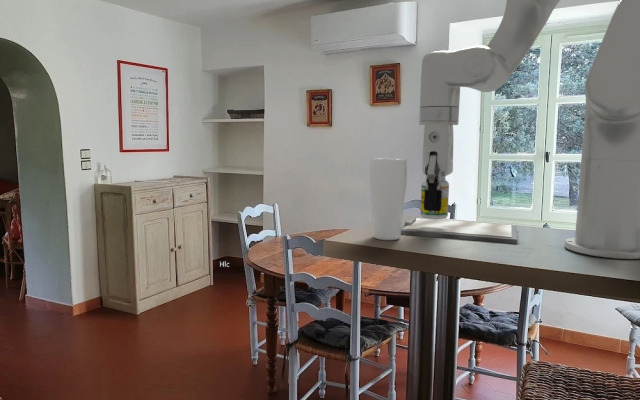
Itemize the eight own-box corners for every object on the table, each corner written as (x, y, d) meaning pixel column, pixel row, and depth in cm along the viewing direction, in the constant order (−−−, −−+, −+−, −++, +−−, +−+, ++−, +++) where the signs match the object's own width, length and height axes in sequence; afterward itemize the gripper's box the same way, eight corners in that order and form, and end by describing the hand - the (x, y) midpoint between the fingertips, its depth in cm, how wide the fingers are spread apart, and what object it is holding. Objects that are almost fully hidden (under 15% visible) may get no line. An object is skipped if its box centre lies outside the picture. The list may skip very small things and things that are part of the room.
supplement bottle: (453, 218, 96) (455, 170, 94) (432, 220, 93) (434, 171, 92) (434, 214, 100) (436, 168, 99) (414, 216, 98) (416, 169, 97)
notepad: (516, 229, 102) (516, 221, 101) (517, 243, 87) (517, 235, 87) (412, 221, 110) (412, 214, 109) (397, 233, 95) (397, 225, 95)
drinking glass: (393, 243, 86) (396, 159, 84) (361, 238, 90) (363, 158, 88) (410, 237, 91) (413, 159, 89) (380, 233, 95) (382, 157, 94)
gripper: (453, 115, 85) (448, 215, 87) (462, 119, 101) (458, 204, 103) (411, 115, 88) (407, 213, 90) (426, 119, 103) (423, 202, 106)
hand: (434, 207), depth 96 cm, fingers closed on supplement bottle, 5 cm apart
